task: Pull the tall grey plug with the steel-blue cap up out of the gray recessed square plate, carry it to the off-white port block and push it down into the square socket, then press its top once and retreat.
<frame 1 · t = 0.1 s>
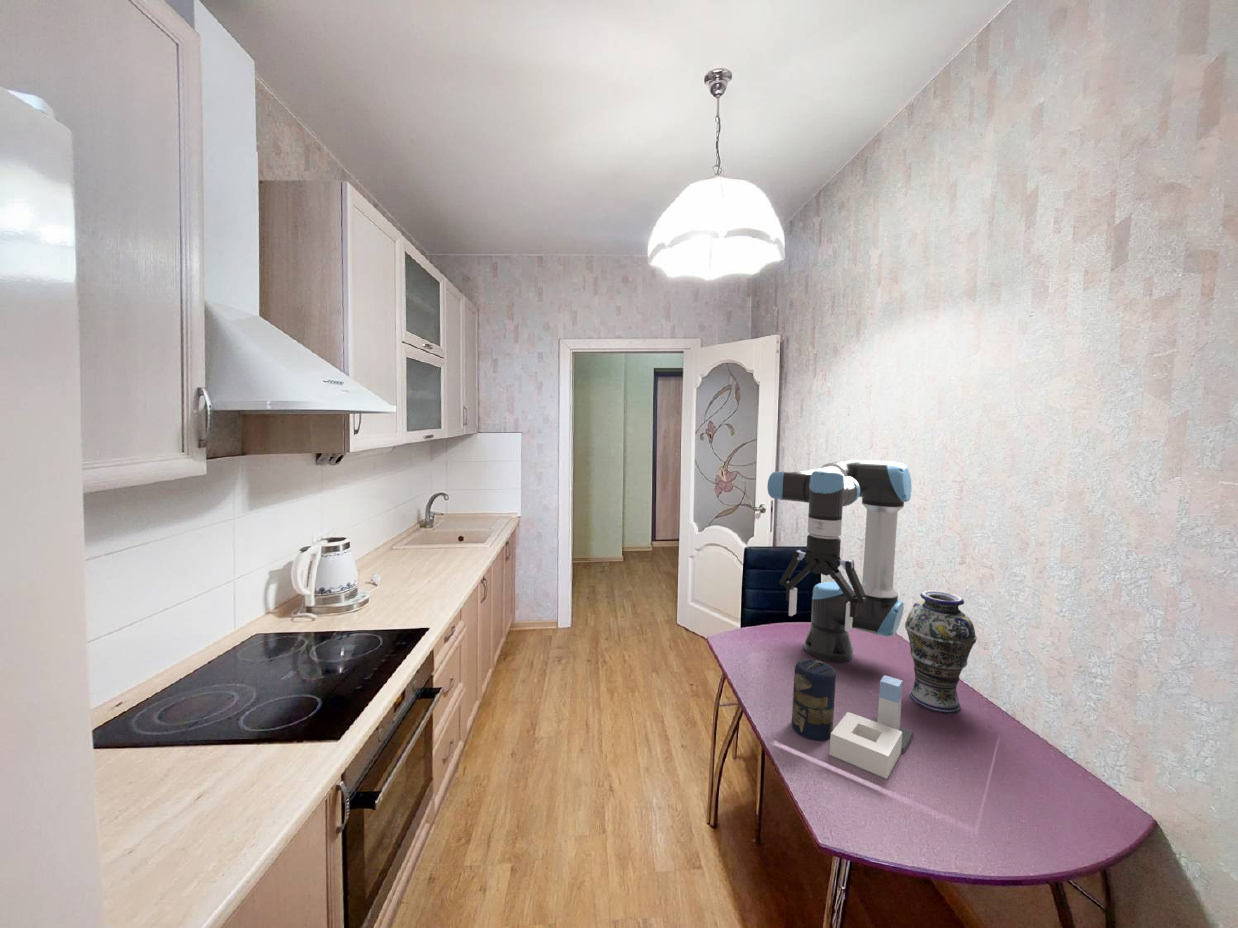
hand: (819, 621, 127), 28 cm above the table, fingers open, 13 cm apart
port: (865, 757, 120), on the table
vase: (934, 702, 145), on the table
canister: (811, 733, 129), on the table
plug: (887, 736, 127), point 1 cm above the table, touching gray recessed square plate
gray recessed square plate: (887, 739, 127), on the table
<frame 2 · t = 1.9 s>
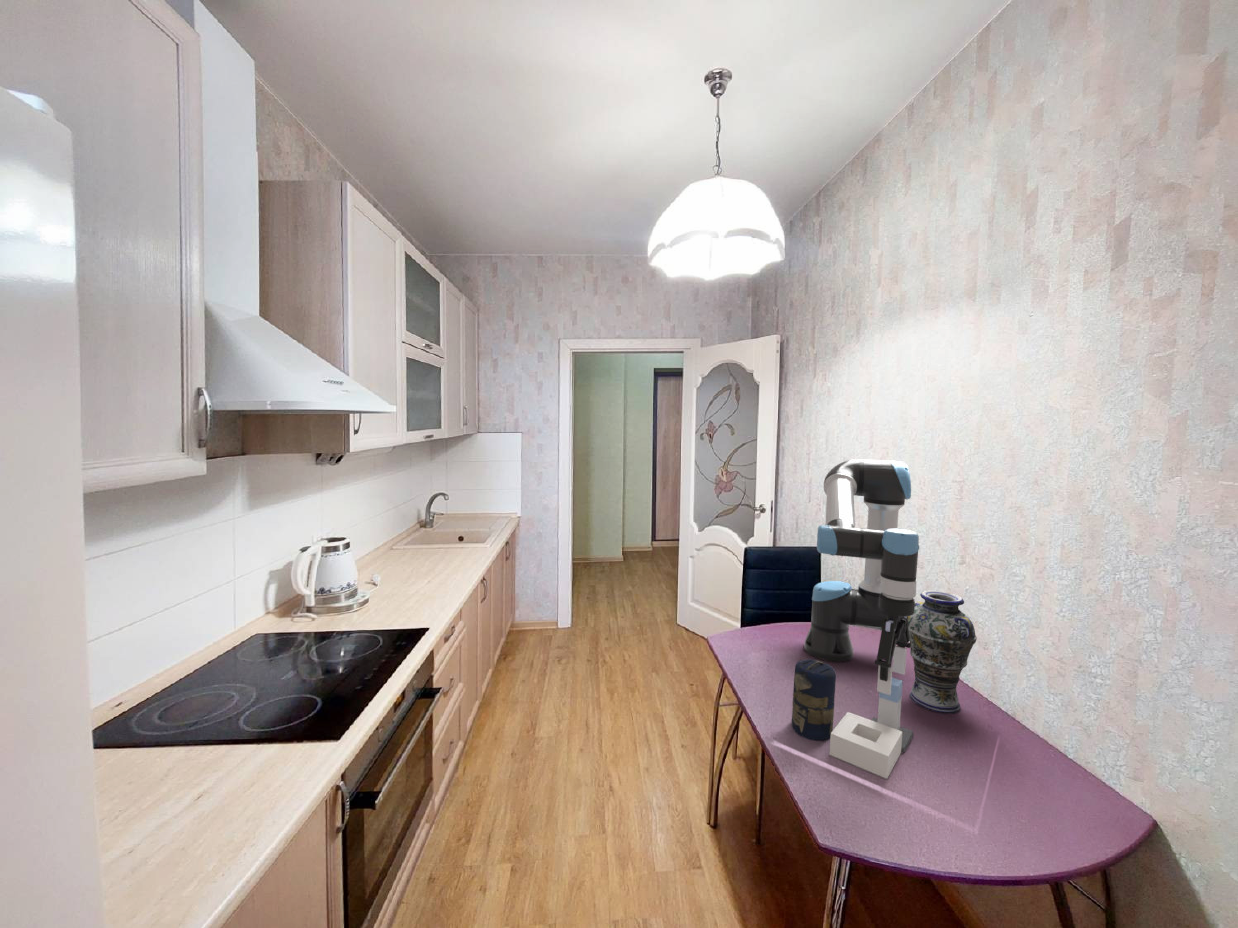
hand: (891, 682, 125), 15 cm above the table, fingers open, 13 cm apart
nothing on the table moved.
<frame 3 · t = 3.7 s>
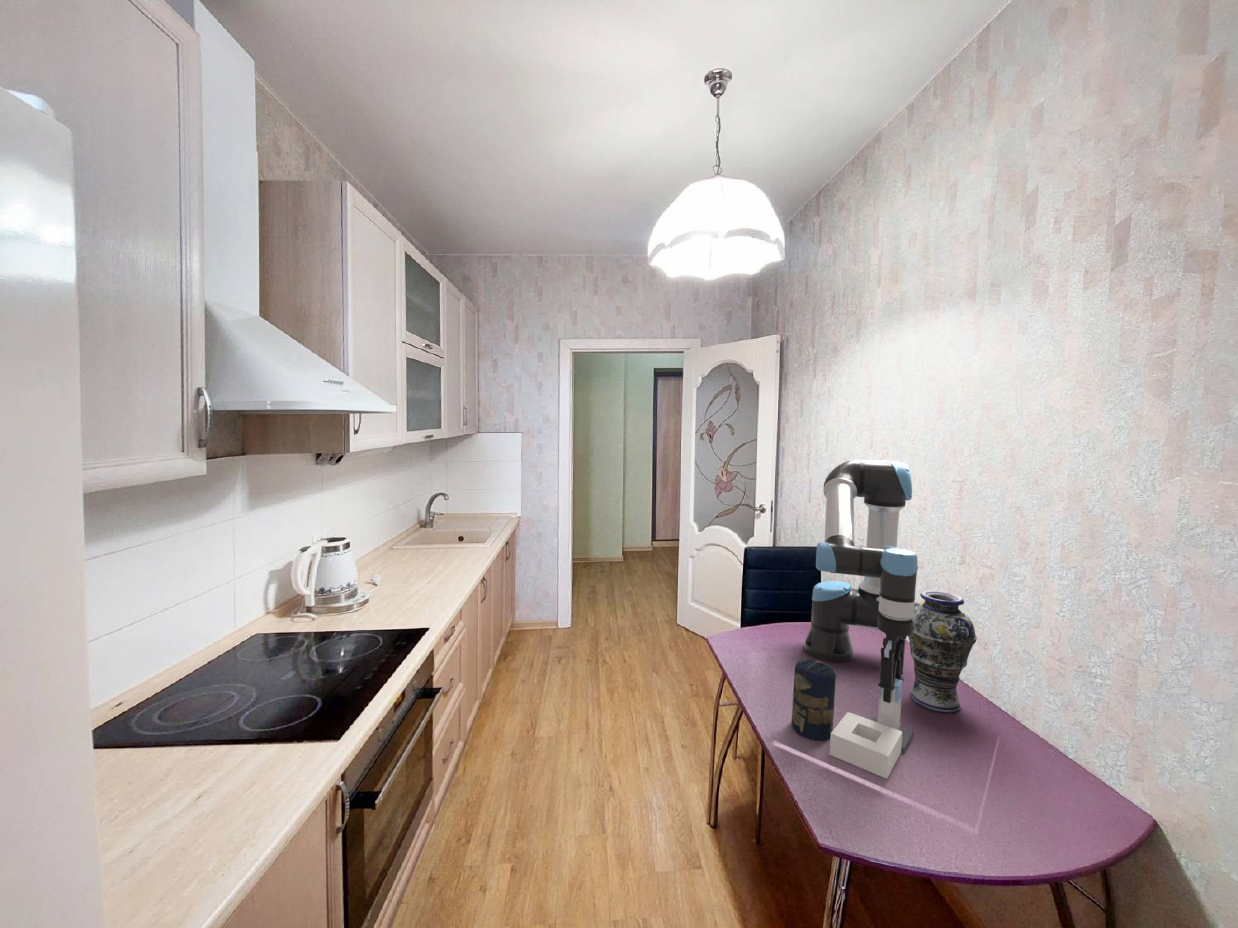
hand: (889, 709, 126), 8 cm above the table, fingers closed on plug, 4 cm apart
plug: (887, 736, 127), point 1 cm above the table, touching gripper, gray recessed square plate
everything else where it was.
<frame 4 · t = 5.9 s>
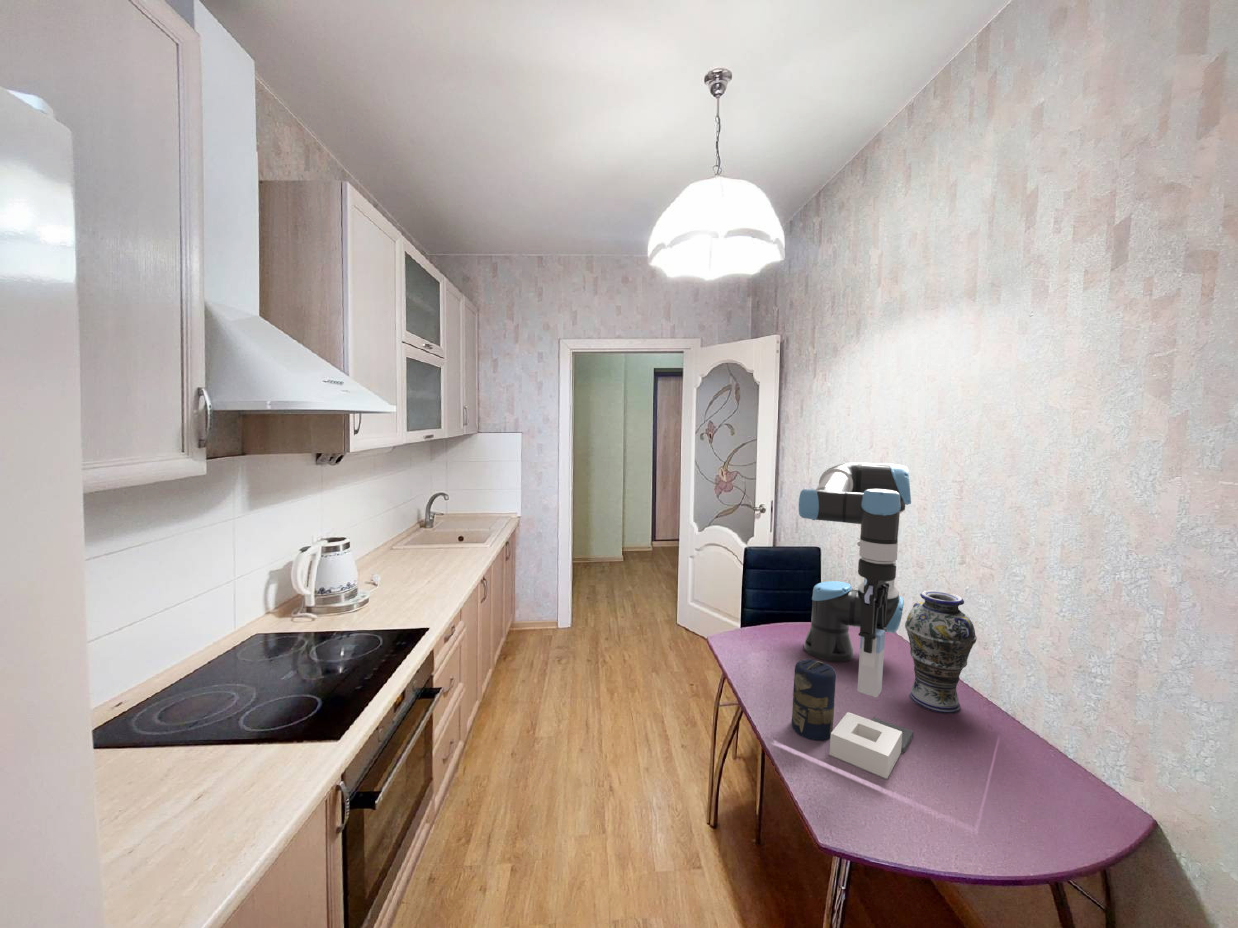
hand: (871, 661, 118), 23 cm above the table, fingers closed on plug, 4 cm apart
plug: (869, 690, 118), point 16 cm above the table, touching gripper
everything else where it was.
when the fingers open (10 cm above the table, at t = 8.5 s): plug drops 2 cm, resting on port.
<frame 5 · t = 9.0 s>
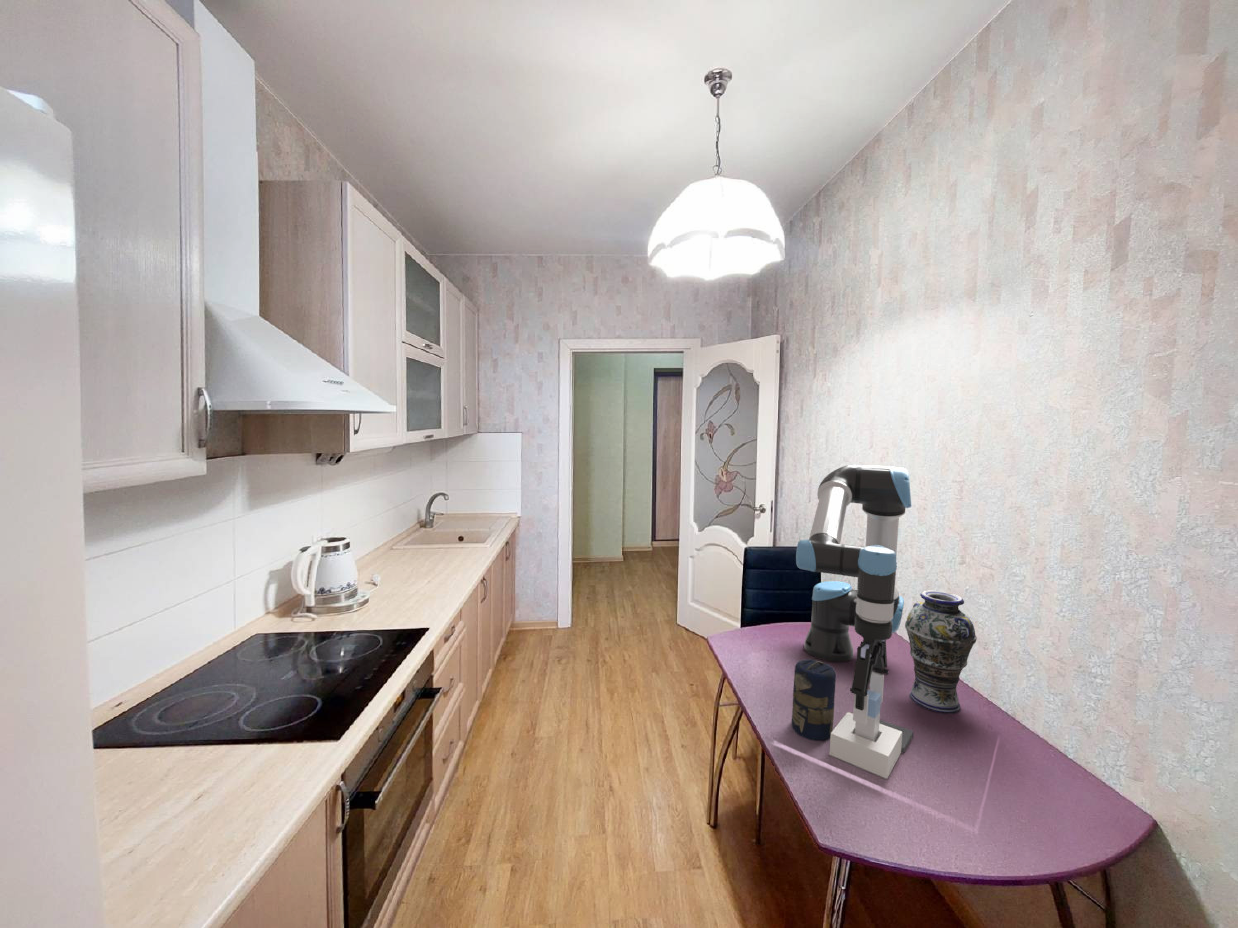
hand: (868, 710, 119), 11 cm above the table, fingers open, 11 cm apart
plug: (865, 753, 120), point 1 cm above the table, touching port
everything else where it was.
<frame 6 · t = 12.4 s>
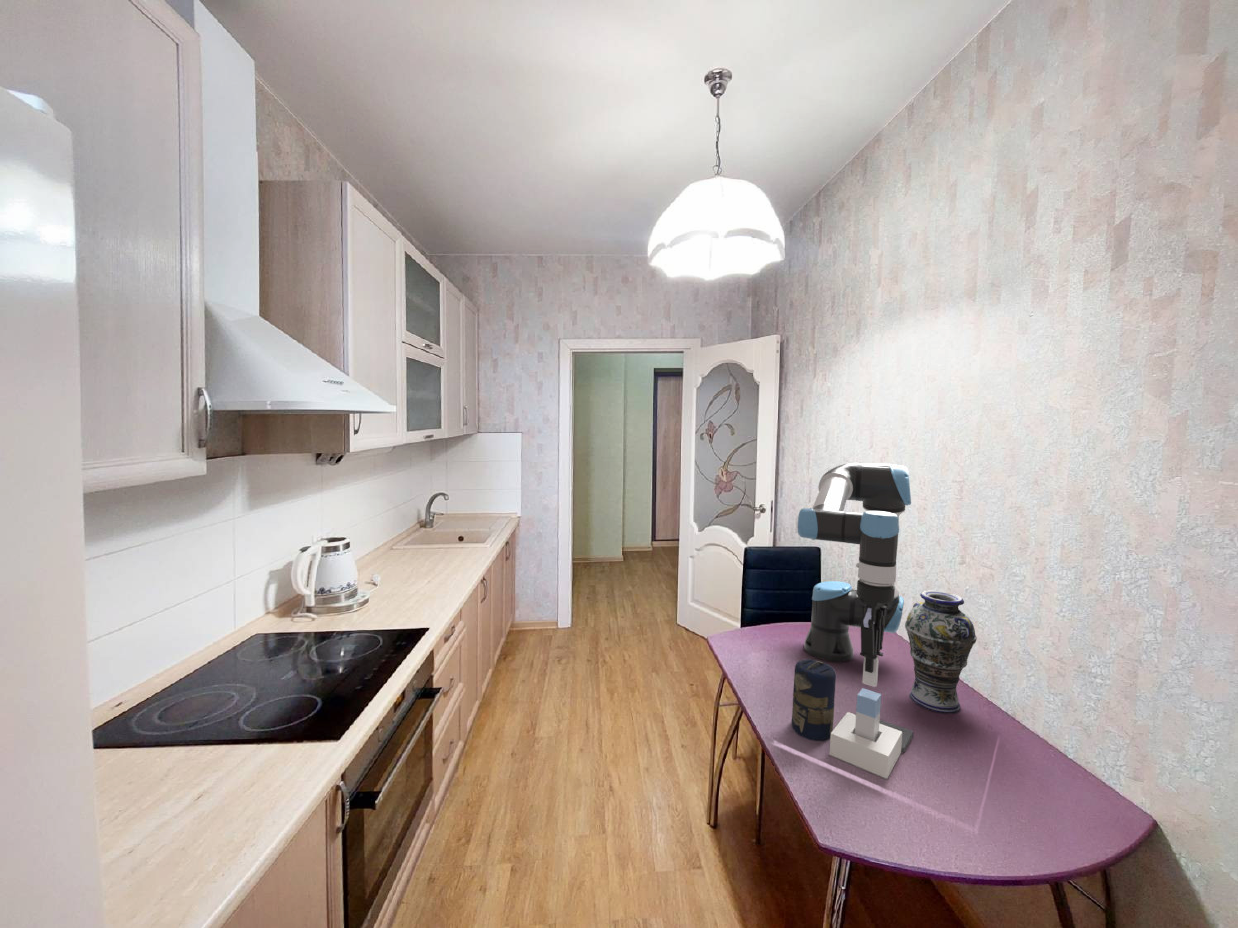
hand: (869, 683, 118), 18 cm above the table, fingers closed
nothing on the table moved.
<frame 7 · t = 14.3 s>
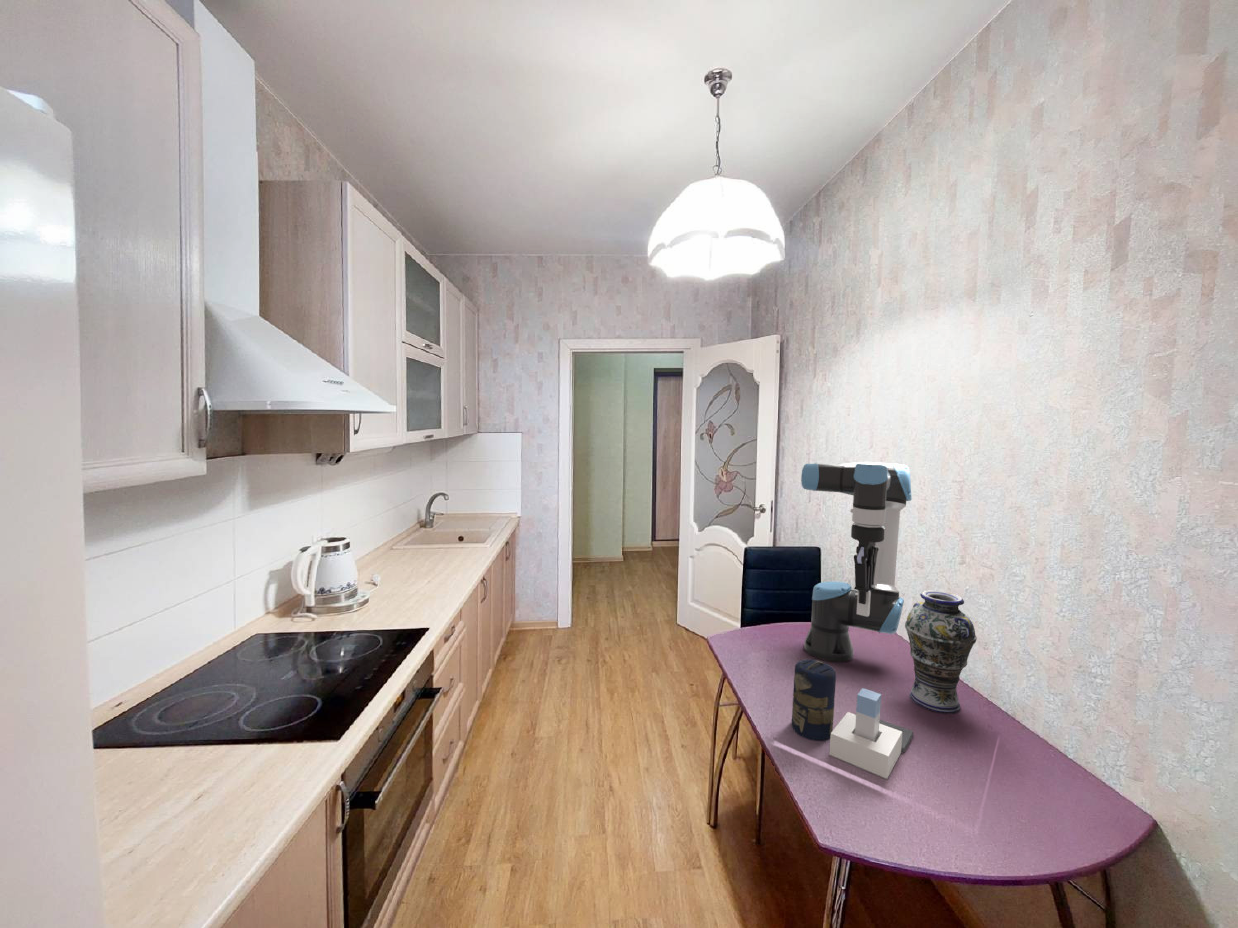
hand: (862, 614, 134), 27 cm above the table, fingers closed
nothing on the table moved.
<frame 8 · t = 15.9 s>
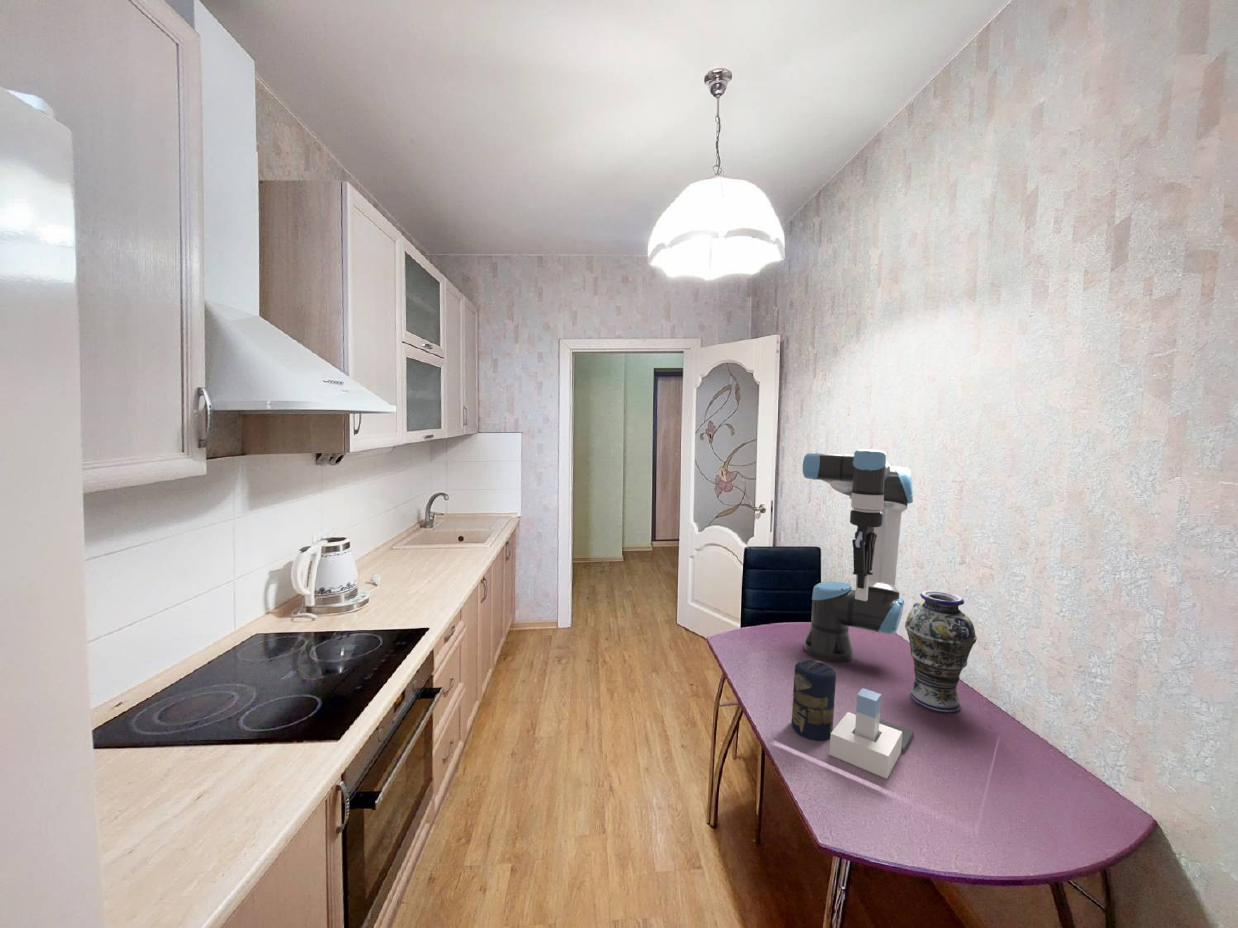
hand: (861, 599, 137), 30 cm above the table, fingers closed
nothing on the table moved.
at the end: plug 0.1 cm off-centre on the port, point 1.0 cm above the port's base; plug tilted 0°; the gripper is holding nothing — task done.
